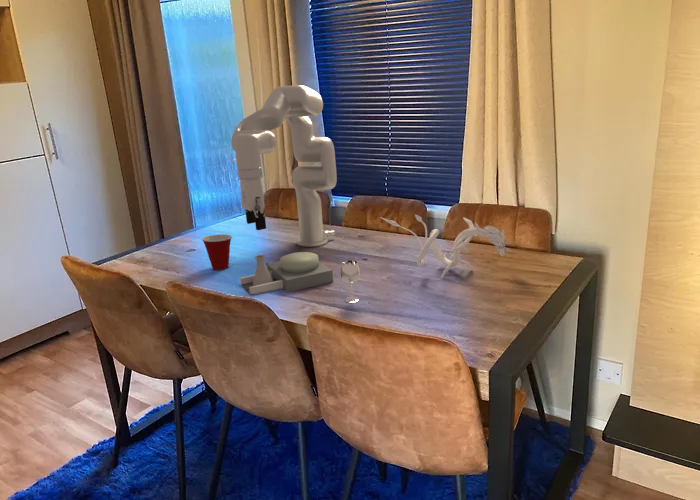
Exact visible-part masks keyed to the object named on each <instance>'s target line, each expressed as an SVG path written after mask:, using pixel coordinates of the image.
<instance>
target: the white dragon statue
mask: <svg viewBox="0 0 700 500" xmlns="http://www.w3.org/2000/svg"><path fill="white" fill-rule="evenodd" d="M414 217H415V219H416V221H417V222H419V223H422V225H423V226H424V233H425V234H424V235H425V237H424V242H423V244H422V241H421V239H420V237H418V235H417V234H416V233H415V232H413V230H411V229H408V228H407V227H404V226H401V225H400V224H398V223H397V222H396V221H394V220H391V219H388V218H385V217H382V216H379V218H380V219H382V220H383V221H385V222H386V223H389V224H390V225H392V226H393V227H398V228H401V229H404V230H405V231H407V232H409V233H411V234H412V235H413V236H414V237H415V238H416V239H417V242H418V244H419V245H420V253H419V254H418V257H417V261H416V265H417V267H421V268H422V267H423V266H424V264H425V254H426V253H427V251H428V250H429V248H431V250H432V252H433V253H427V254H426V255H427V256H431V257H435V258H436V259H438V260H439V261H440V263H442V264H440V265H439V266H438V267H436V268H435V270H438V269H439V268H441V267H443V266H446V267H445V269H444V270H443V271H442V274H441V276H440V279H443V278H444V276H445V275H446V274H447V273H448V272H449V270H450V269H451V268H454V267H456V266H459V267H461V266H462V265H465V267H466V268H468V270H469V271H472V270H473V269H472V267H471V263H470V262H468V261H466V260H464V259H462V258H461V257H462V256H461V249H462V250H465V251H467V252H469V253H470V252H471V251H470V250H469V248H467V247H466V246H467V245H468V244H469V243H470V241H471V240H472V239H473V237H484V238H487V240H488V241H489V243H491V244H493V245H494V246H495V254H497V252H499V255H500V257H504V256H505V255H506V253H505V252H512V249H510V248H507V247H506V235H507V234H506V233H504V229H502V231H500V229H498V228H497V227H494V226H493V225H492V226H491V225H487V226H484V227H483V228H481V227H480V226H479V224H478V223H476V222H475V226H474V224H473V221H472V220H471V219H468V218H466V217H464V216H463V220H464V222H466V224H467V225H468V228H466V229H464V230H462V231H461V232H459V233H458V235H457V236H455V240H454V242H453V246H452V249H451V250H450V252H449V253H448V255H449V256H450V257H449V258H447V257H446V254H447V251H445V252H444V251H443V250H442V248H443V247H442V244H440V248H439V245H438V243H437V237H438V236H439V235H440V230H439V229H438V228H435V229H431V231H430V234H429V237H428V227H427V224H426V223H425V222H424V221H423V218H422V216H420V215H418V214H415V213H414ZM451 253H452V254H451ZM459 262H460V263H461V264H462V265H461V264H459Z"/></svg>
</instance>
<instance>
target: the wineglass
mask: <svg viewBox="0 0 700 500" xmlns="http://www.w3.org/2000/svg"><path fill="white" fill-rule="evenodd" d="M360 272H361V271H360V266H359V263H358V261H357V260H355V259H354V260H352V259H349V260H344V261H342V262H341V266H340V278H341V280H342V281H343V282H344V283H347V284H349V289H350V290H349V291H350V297H346V298H345V299H344V302H345V303H348V304H353V303H357V302H360V298H359V297H357V296H354V295H353V287H354V286H353V284H354V283H357V282H358V281H359V279H360V276H361V273H360Z"/></svg>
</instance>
